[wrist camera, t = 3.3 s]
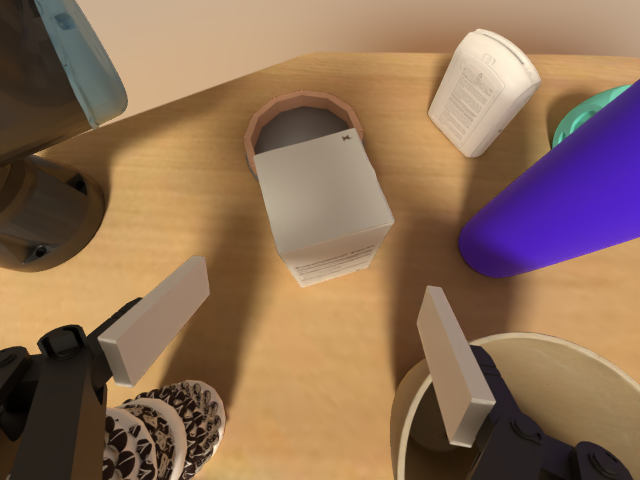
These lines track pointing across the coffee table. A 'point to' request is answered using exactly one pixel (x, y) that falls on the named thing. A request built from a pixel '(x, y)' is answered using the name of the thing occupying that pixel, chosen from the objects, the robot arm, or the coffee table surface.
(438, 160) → the coffee table surface
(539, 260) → the bottle
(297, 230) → the supplement box
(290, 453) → the coffee table surface
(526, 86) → the photo printer
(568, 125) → the mint green rounded piece
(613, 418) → the plant pot
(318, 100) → the ringed saucer
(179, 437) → the decorative candle
